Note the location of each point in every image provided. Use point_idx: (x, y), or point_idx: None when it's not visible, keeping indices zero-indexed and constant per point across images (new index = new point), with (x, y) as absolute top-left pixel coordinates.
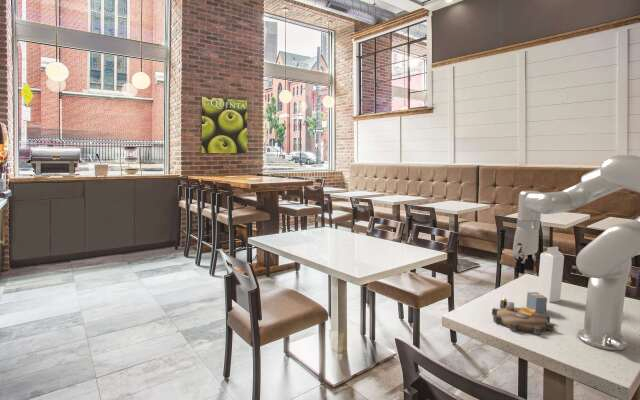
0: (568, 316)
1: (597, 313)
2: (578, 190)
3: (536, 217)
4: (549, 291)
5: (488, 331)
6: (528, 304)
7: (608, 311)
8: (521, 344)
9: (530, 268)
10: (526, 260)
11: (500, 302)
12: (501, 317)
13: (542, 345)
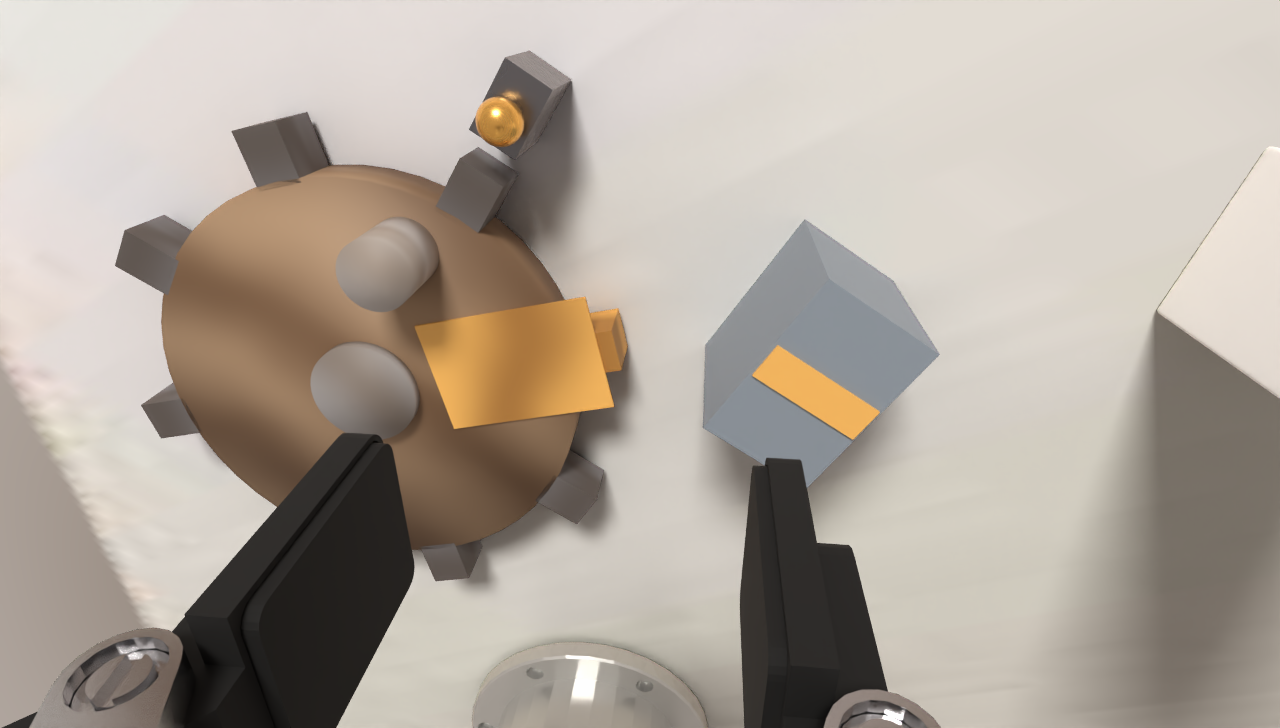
0: (868, 525)
1: None
2: None
3: None
4: (1249, 356)
5: (4, 289)
6: (787, 261)
7: None
8: (104, 500)
9: (745, 598)
10: (768, 665)
11: (512, 57)
12: (166, 298)
13: (221, 569)
